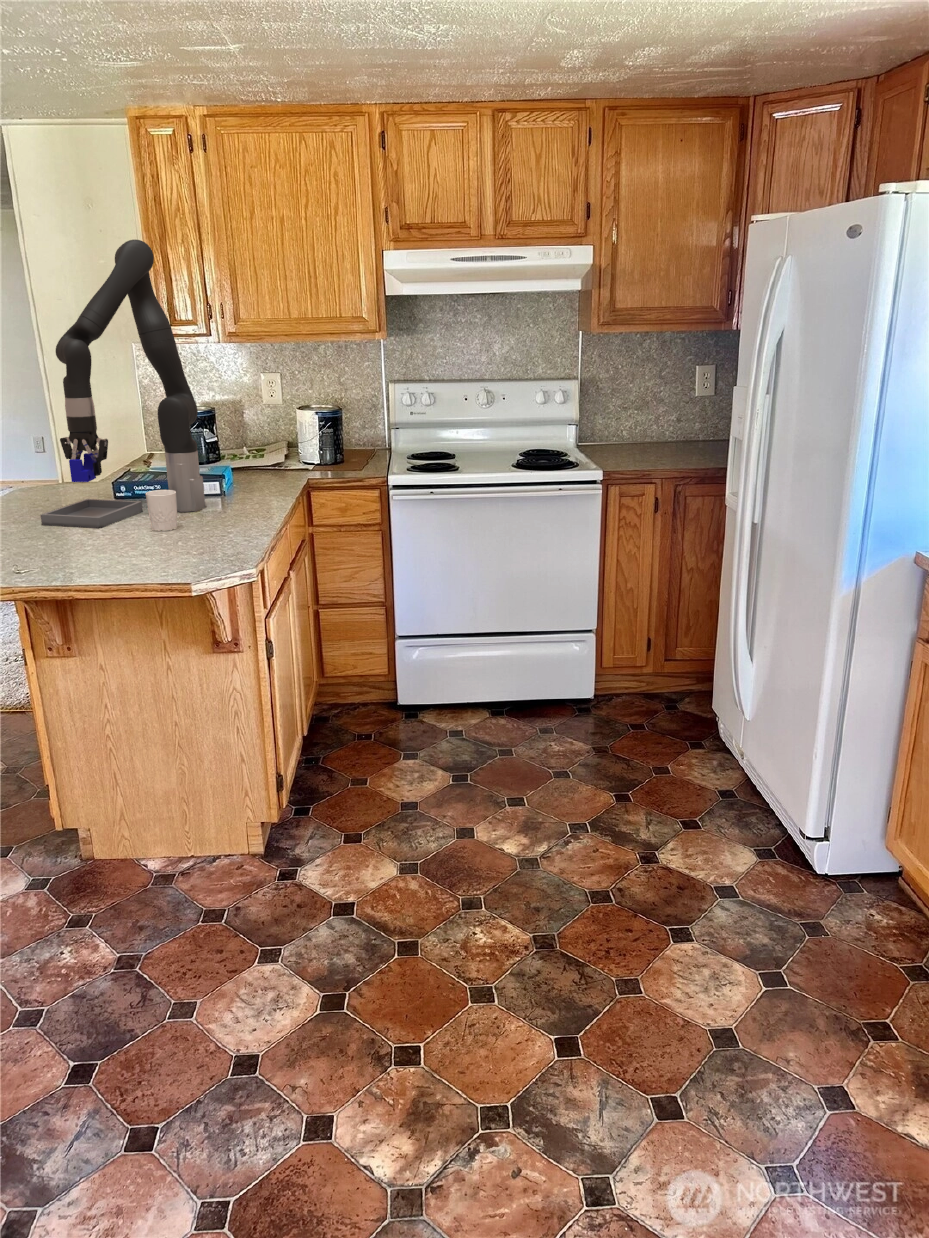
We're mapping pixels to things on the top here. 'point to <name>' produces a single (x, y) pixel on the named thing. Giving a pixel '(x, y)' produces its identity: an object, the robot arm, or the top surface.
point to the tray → (91, 513)
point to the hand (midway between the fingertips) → (88, 474)
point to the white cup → (162, 509)
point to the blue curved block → (82, 469)
